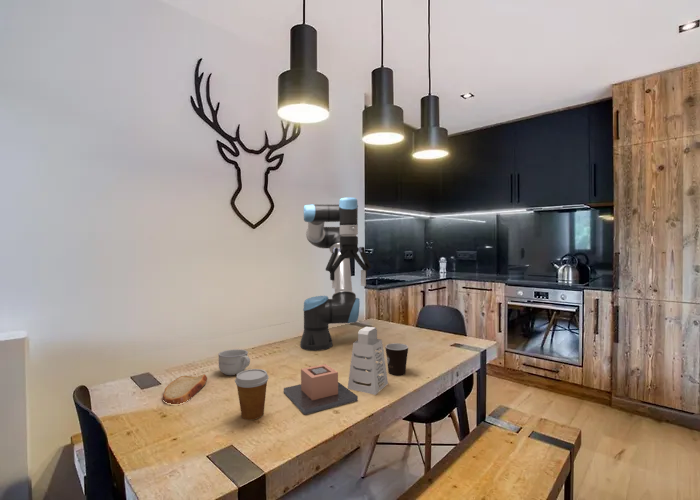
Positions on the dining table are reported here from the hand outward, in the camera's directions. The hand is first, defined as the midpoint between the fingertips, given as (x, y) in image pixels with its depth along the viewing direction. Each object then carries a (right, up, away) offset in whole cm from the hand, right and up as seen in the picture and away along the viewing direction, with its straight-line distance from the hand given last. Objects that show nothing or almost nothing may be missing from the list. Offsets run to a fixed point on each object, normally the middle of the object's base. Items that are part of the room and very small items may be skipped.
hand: (349, 287), depth 152 cm
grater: (+7, -32, -25) cm, 41 cm away
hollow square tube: (-10, -31, -33) cm, 46 cm away
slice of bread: (-55, -33, -27) cm, 70 cm away
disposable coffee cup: (-28, -33, -44) cm, 62 cm away
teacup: (-43, -32, -12) cm, 55 cm away
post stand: (-10, -32, -33) cm, 47 cm away
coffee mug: (+18, -31, -11) cm, 38 cm away
